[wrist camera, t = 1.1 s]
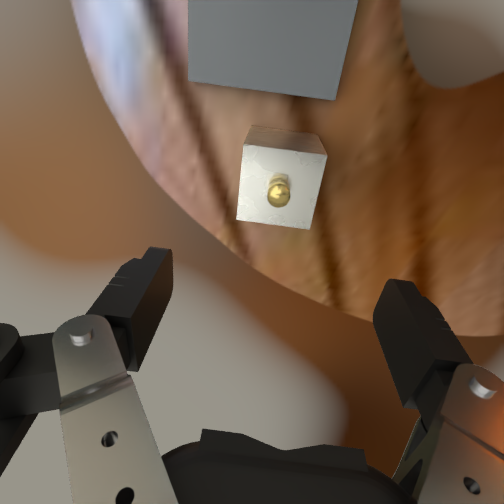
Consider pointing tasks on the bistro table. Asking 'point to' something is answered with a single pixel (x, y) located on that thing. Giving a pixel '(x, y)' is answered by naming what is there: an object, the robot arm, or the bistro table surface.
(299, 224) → the block
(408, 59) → the bistro table surface
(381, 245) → the bistro table surface
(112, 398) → the robot arm
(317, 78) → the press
